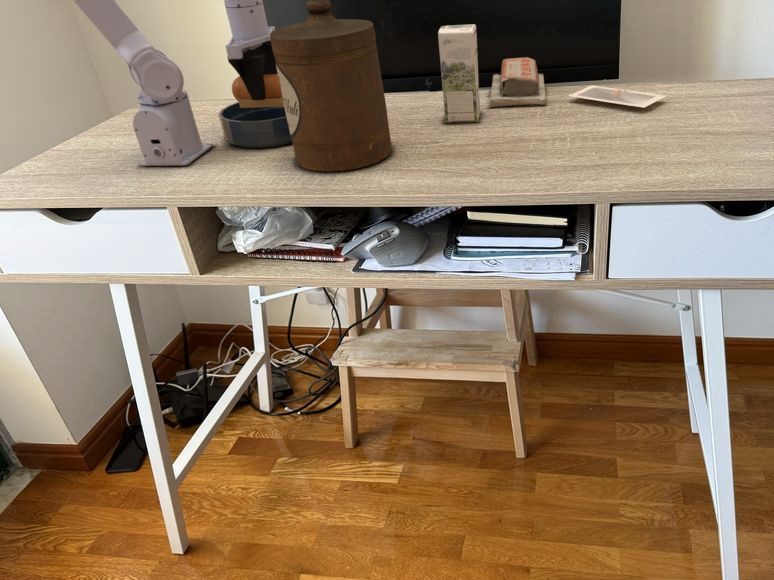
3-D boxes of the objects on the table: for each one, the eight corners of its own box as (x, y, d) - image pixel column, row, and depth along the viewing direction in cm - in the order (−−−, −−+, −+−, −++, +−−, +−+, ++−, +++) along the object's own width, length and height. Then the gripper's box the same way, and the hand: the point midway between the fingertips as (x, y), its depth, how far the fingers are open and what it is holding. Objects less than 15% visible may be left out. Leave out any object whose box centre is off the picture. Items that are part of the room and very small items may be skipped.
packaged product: (492, 56, 132) (543, 54, 131) (493, 82, 135) (543, 80, 134) (488, 80, 117) (546, 77, 116) (489, 108, 120) (546, 106, 119)
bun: (303, 99, 114) (297, 70, 112) (293, 107, 111) (287, 77, 108) (242, 100, 116) (235, 72, 113) (231, 108, 112) (223, 79, 110)
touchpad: (643, 114, 112) (644, 100, 111) (567, 102, 120) (568, 89, 119) (666, 102, 117) (667, 89, 115) (591, 91, 125) (592, 79, 124)
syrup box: (481, 112, 118) (476, 22, 110) (478, 123, 114) (473, 29, 105) (448, 114, 119) (441, 24, 111) (444, 124, 114) (437, 31, 106)
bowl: (301, 149, 108) (295, 121, 106) (209, 150, 111) (201, 122, 109) (332, 119, 121) (328, 93, 119) (249, 120, 124) (243, 95, 121)
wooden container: (309, 141, 111) (279, -8, 99) (398, 137, 110) (379, -14, 97) (284, 175, 99) (246, 9, 87) (383, 170, 98) (360, 2, 85)
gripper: (248, 12, 98) (270, 107, 106) (285, -4, 110) (303, 83, 118) (204, 14, 99) (228, 108, 107) (245, -2, 111) (265, 84, 119)
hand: (265, 95), depth 112 cm, fingers closed on bun, 4 cm apart
